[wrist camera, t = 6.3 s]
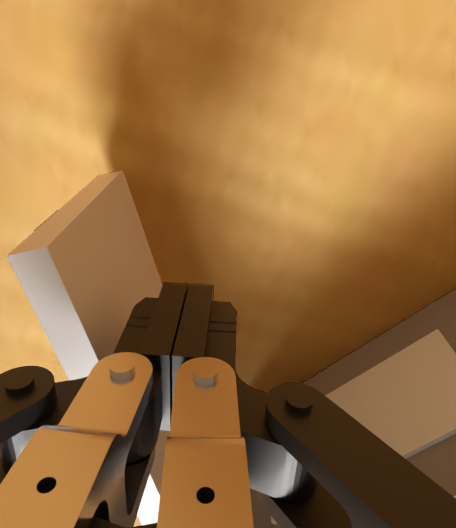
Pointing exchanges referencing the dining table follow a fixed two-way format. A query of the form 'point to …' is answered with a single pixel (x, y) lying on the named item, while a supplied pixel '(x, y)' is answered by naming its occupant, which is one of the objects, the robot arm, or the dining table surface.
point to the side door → (92, 286)
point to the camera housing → (400, 393)
